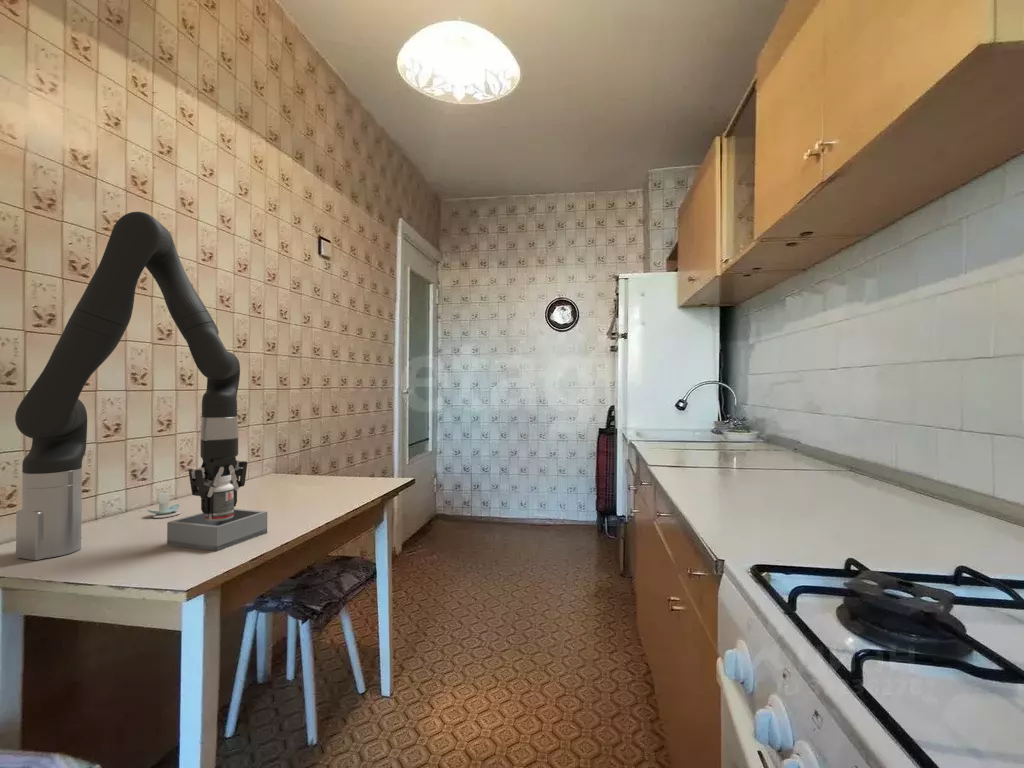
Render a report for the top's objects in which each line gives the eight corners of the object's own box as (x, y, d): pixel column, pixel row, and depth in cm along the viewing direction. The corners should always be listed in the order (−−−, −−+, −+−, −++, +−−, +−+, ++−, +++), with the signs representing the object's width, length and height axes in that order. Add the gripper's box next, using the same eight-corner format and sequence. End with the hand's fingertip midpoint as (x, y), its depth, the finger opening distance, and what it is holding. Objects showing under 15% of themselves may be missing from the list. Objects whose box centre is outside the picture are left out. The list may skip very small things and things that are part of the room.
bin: (217, 551, 106) (217, 527, 106) (167, 544, 110) (167, 522, 110) (267, 532, 119) (267, 511, 119) (221, 527, 123) (221, 507, 123)
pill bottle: (239, 516, 117) (239, 473, 117) (223, 522, 112) (223, 478, 112) (216, 515, 118) (216, 473, 118) (199, 521, 112) (199, 477, 112)
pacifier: (185, 515, 136) (174, 511, 139) (186, 492, 136) (174, 489, 139) (155, 521, 130) (144, 517, 133) (156, 497, 130) (144, 494, 133)
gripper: (232, 433, 123) (232, 502, 123) (178, 439, 109) (178, 516, 109) (257, 434, 121) (257, 504, 121) (204, 440, 107) (204, 519, 107)
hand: (219, 509), depth 115 cm, fingers closed on pill bottle, 5 cm apart
